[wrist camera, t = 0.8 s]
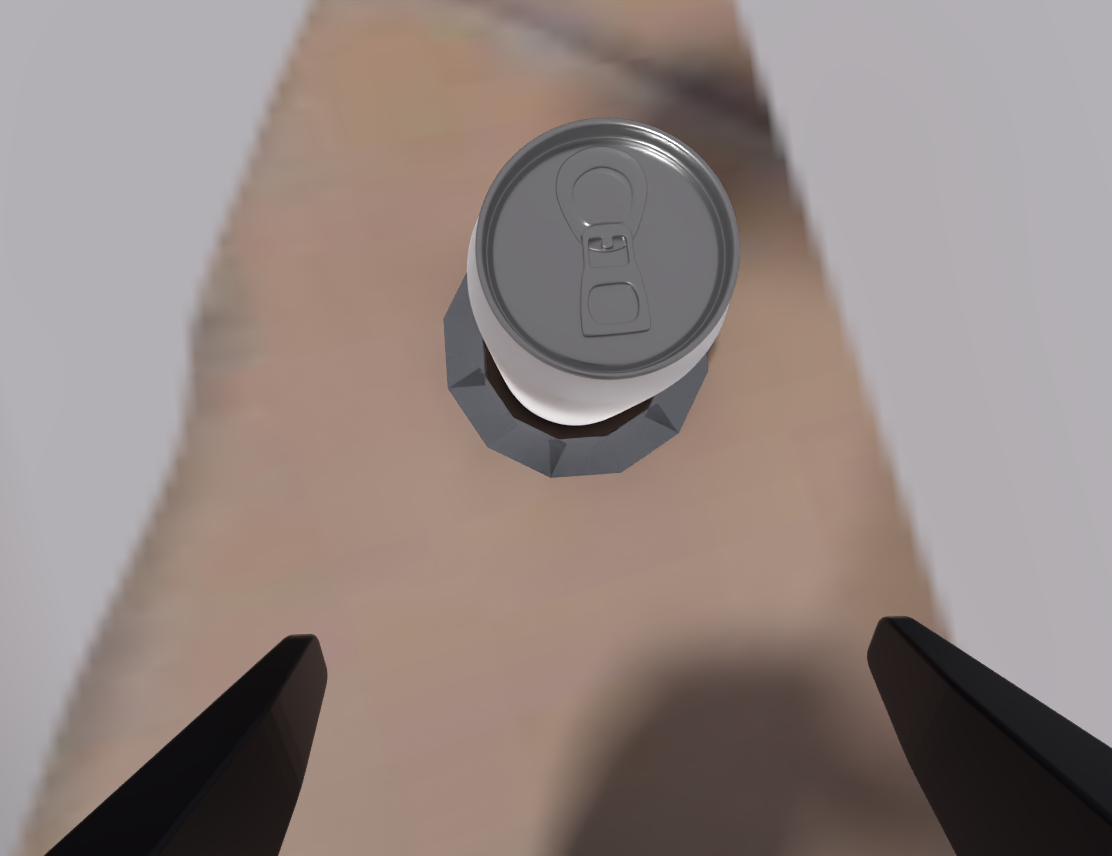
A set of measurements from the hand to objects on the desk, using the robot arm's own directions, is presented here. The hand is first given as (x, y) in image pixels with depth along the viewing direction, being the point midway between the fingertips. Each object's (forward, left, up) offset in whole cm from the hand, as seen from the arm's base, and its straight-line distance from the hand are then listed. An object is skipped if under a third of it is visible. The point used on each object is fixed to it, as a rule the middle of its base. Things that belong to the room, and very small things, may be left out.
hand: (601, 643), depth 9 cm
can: (+7, -1, -15) cm, 16 cm away
